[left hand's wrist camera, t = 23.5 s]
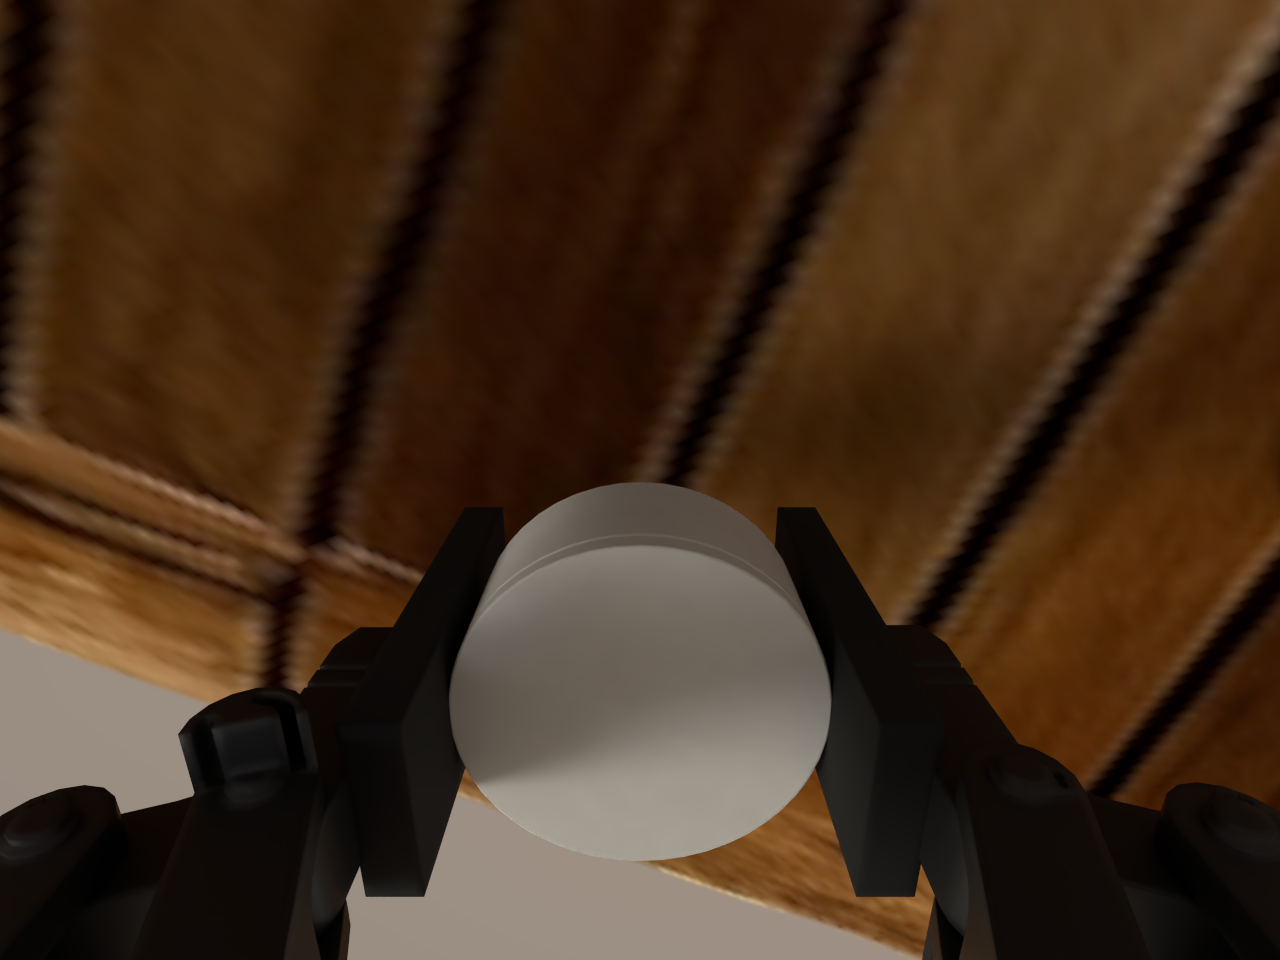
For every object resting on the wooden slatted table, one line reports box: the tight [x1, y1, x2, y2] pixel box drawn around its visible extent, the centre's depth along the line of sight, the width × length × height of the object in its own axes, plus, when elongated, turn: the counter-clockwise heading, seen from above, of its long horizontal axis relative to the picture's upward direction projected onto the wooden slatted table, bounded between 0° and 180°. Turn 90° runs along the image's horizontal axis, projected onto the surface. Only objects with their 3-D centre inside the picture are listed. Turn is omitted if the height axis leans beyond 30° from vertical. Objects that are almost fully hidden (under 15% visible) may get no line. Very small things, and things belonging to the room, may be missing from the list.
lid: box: [449, 482, 832, 861], centre depth 11 cm, size 6×6×2 cm
